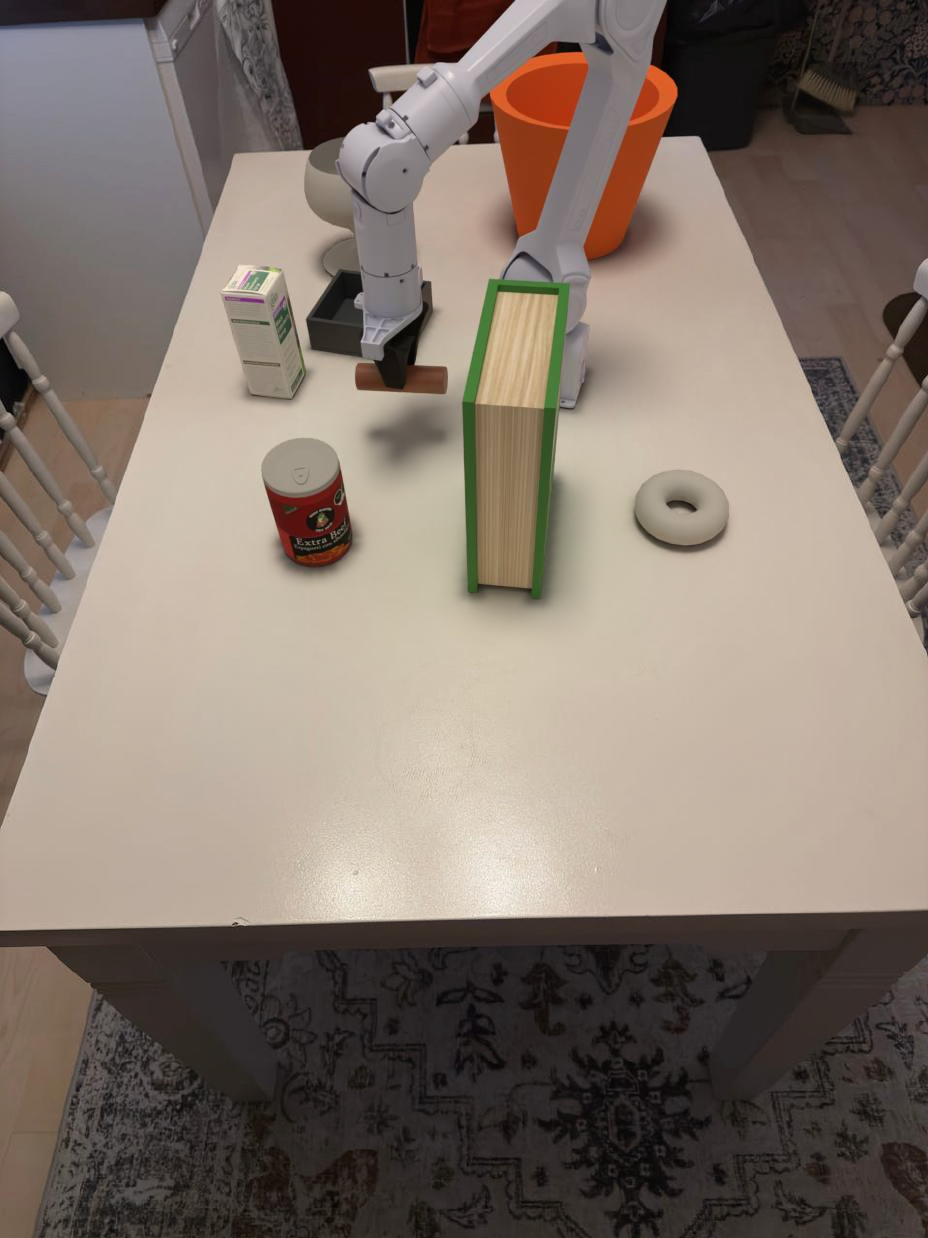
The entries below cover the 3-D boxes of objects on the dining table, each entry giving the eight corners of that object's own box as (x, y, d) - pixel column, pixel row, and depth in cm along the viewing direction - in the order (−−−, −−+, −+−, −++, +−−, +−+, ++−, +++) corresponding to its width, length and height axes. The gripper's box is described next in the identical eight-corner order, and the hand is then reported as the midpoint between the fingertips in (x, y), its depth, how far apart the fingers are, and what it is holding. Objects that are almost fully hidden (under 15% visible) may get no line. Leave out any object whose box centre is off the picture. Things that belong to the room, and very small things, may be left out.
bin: (433, 311, 115) (431, 280, 112) (405, 363, 108) (403, 333, 105) (343, 298, 118) (339, 268, 114) (311, 349, 111) (305, 318, 107)
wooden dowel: (446, 398, 94) (448, 372, 94) (442, 388, 91) (445, 362, 91) (360, 393, 95) (363, 368, 96) (353, 384, 92) (356, 358, 93)
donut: (717, 562, 87) (732, 495, 92) (725, 540, 84) (739, 473, 90) (623, 540, 89) (642, 476, 95) (627, 518, 86) (647, 454, 92)
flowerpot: (587, 177, 137) (600, 38, 121) (688, 244, 124) (717, 98, 108) (458, 221, 130) (454, 78, 114) (551, 296, 117) (561, 148, 101)
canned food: (297, 578, 87) (276, 502, 78) (271, 529, 91) (248, 452, 82) (365, 552, 89) (352, 475, 80) (336, 504, 93) (321, 427, 84)
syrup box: (292, 400, 104) (268, 294, 93) (248, 395, 105) (218, 289, 93) (307, 372, 108) (285, 266, 96) (263, 367, 108) (237, 262, 97)
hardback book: (540, 598, 84) (555, 408, 65) (467, 591, 85) (462, 401, 66) (553, 477, 95) (570, 283, 76) (488, 472, 96) (489, 278, 76)
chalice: (430, 252, 125) (424, 146, 113) (374, 297, 118) (362, 189, 106) (355, 227, 129) (341, 123, 117) (298, 270, 122) (277, 164, 110)
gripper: (373, 220, 87) (386, 334, 98) (324, 297, 79) (344, 411, 90) (438, 227, 86) (444, 342, 97) (395, 306, 78) (406, 421, 88)
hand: (400, 376), depth 93 cm, fingers closed on wooden dowel, 3 cm apart
